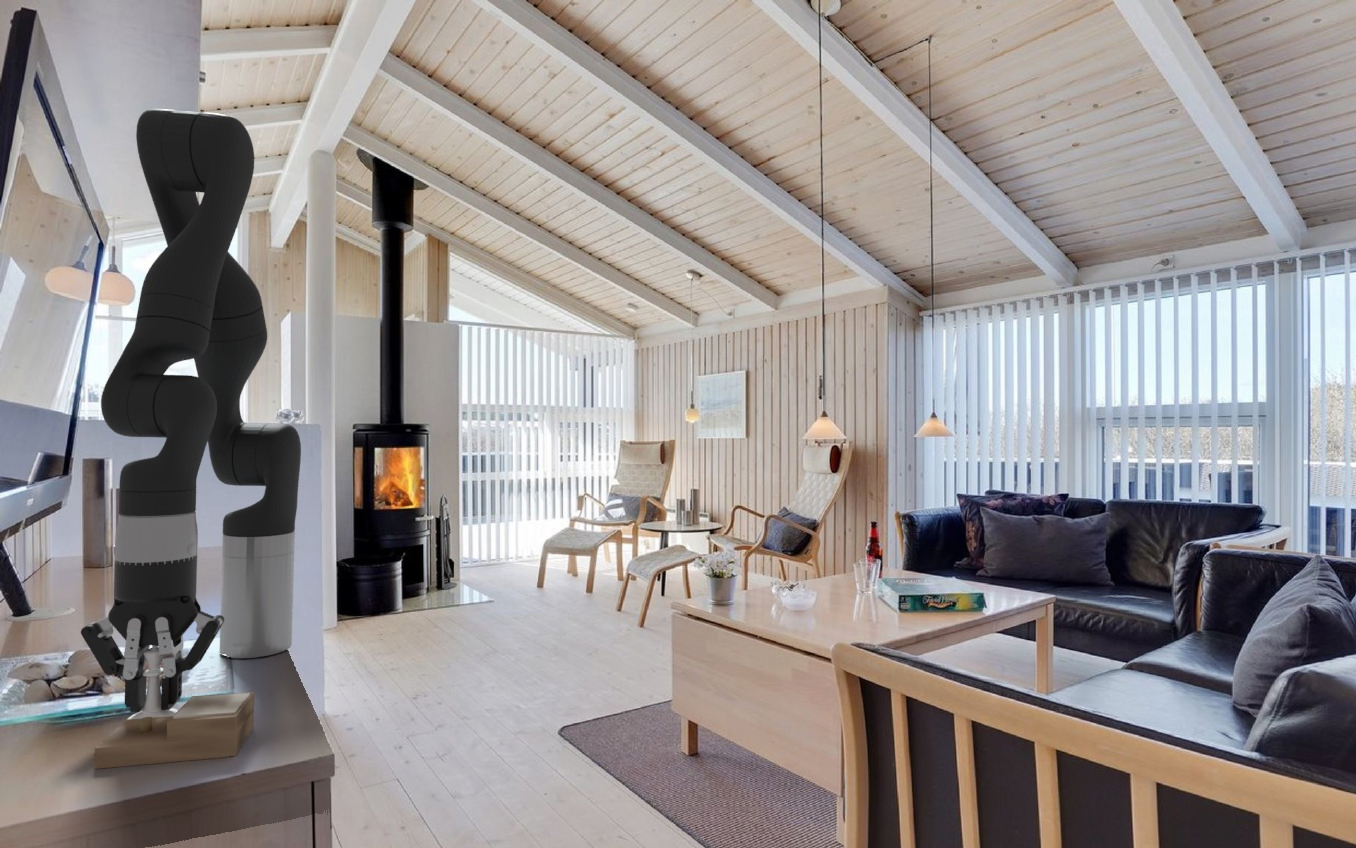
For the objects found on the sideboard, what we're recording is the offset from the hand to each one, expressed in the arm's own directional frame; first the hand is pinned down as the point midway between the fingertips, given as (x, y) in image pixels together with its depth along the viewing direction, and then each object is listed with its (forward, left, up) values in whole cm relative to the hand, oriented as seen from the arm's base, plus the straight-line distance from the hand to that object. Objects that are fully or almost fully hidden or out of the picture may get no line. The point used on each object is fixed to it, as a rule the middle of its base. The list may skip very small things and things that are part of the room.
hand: (152, 708), depth 82 cm
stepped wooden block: (+7, +5, -2) cm, 9 cm away
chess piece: (0, 0, -2) cm, 2 cm away
